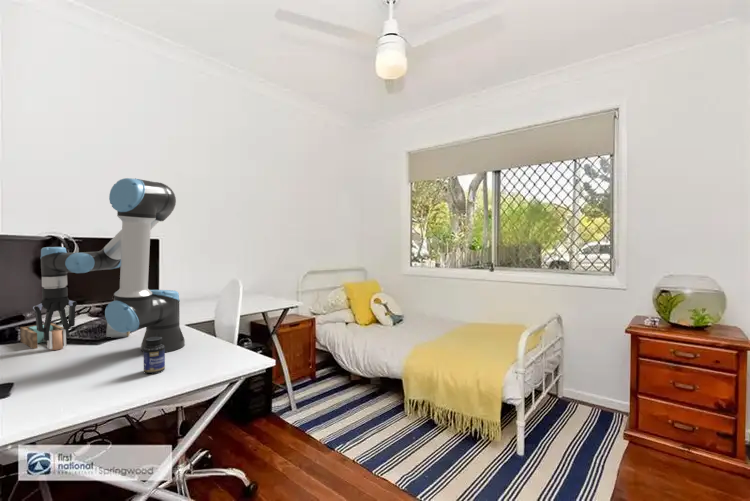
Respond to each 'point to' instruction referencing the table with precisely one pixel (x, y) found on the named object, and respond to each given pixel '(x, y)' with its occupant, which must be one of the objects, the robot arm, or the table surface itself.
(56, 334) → the tethered block
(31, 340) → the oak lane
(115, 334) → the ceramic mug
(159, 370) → the pill bottle
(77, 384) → the table surface
